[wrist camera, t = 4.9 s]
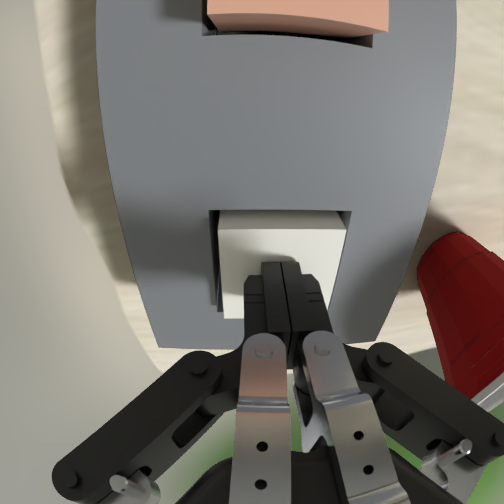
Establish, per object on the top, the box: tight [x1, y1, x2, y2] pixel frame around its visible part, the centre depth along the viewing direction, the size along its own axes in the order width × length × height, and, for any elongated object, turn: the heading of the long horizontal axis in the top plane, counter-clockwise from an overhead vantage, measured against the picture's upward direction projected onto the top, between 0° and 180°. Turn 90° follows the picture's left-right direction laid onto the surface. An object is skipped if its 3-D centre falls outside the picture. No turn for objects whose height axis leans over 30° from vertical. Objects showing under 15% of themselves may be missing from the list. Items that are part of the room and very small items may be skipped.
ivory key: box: [218, 210, 346, 319], centre depth 14 cm, size 5×5×4 cm
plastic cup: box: [417, 232, 504, 412], centre depth 15 cm, size 11×11×12 cm
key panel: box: [96, 0, 457, 349], centre depth 11 cm, size 13×24×5 cm, turn 179°
